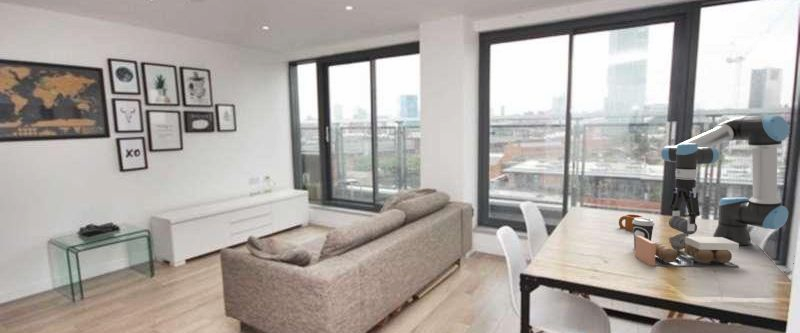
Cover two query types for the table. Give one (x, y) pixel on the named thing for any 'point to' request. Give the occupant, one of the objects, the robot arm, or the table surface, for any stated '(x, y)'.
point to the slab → (711, 243)
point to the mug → (628, 221)
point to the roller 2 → (680, 225)
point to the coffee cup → (643, 228)
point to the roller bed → (691, 262)
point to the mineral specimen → (678, 241)
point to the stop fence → (645, 250)
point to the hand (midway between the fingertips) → (682, 227)
